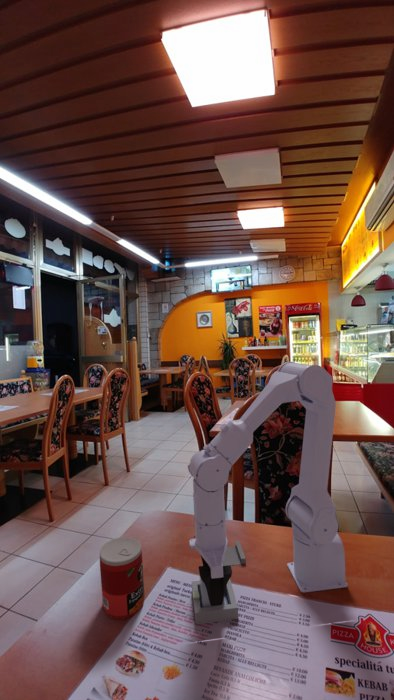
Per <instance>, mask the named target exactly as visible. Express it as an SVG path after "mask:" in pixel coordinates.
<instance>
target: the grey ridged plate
mask: <svg viewBox="0 0 394 700" xmlns="http://www.w3.org/2000/svg"><path fill="white" fill-rule="evenodd" d="M234 542H235V543H234V545H232V546H231V545H230V546H227V549H226V553H225V557H224V560H223V566H227V565H231V567H232V566H238V565H246V564H247V560H246V559H247V558H246V556H245V552H244V550H243V546H242V545H241V541H240V540H235V541H234Z"/></svg>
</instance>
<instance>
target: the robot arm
mask: <svg viewBox="0 0 394 700" xmlns="http://www.w3.org/2000/svg"><path fill="white" fill-rule="evenodd" d="M333 380H334V377H333V375H331V374H330V373H329V372H328V371H327V370H326V369H325V368H324V367H322V366H321V365H319V364H306V363H300V362H299V363H298V362H294V361H286V362H284V363H282V364H281V365H280V366H279V367H278V368H277V370H276V371H274V372H273V373H272V374H271V376H270V378H269V381H268V383H267V384H266V385H265V386H264V388H263V389H262V390H261V392H260V393H259V394H258V396H257V397H256V398H255V399H254V401H253V402H252V403H251V404H250V406H249V407H247V409H246V410H245V412H244V413H243V414H242V416H241V417H240V418H239V419H235V420H229V421H228V422H227V423H222V424H221V426H220V427H219V429H220V431H219V432H218V433H217V435H215V437H214V438H213V439H212V440H211V441H210V442H209V443H208V444H205V445H204V446H203V448H202V449H201V450H198V451H197V452H195V453H194V454H193V455H192V457H191V458H190V460H189V461H190V463H189V464H188V465H187V469H188V472H189V474H190V475H191V477H193V479H192V484H193V485H192V486H193V493H192V497H193V499H192V500H193V516H194V517H193V519H194V533H195V534H194V536H193V538H191V539H189V541H188V542H189V549H190V550H196V551H197V552H198V554H199V555H200V557H201V561H202V562H201V563H202V565H200V566H198V574H200V575H199V578H200V577H201V580H202V581H203V582H204V584H205V586H206V589H207V593H208V598H209V602H210V605H211V606H218V605H222V604H223V600H224V601H225V595H226V594H225V593H226V591H225V589H226V585H227V583H228V581H229V579H230V580H231V577H233V569H232V566H231V565H227V566H223V560H224V557H225V553H226V549H227V547H228V543H229V542H228V538H227V528H226V527H227V526H226V508H225V507H226V506H225V502H226V501H225V489H224V486H225V485H226V484H227V482H228V481H229V475H230V471H231V469H232V467H233V465H234V464H235V463H236V462H237V461H238V460H239V458H241V456H242V455H243V454H244V453H245V452H246V451H247V449H248V448H250V446H251V445H252V444H253V442H254V432H255V431H256V430H257V429H258V428H259V427H260V426H261V425H262V424H263V423H264V422H265V421H266V420H267V419H268V418H269V417H270V416H271V415H272V414H273V413H274V412H275V411H276V410H277V409H278V408H279V406H281V405H282V404H285V403H293V402H299V403H300V404H301V405H302V406H303V407H304V408H305V418H304V429H303V438H302V440H303V441H302V447H301V448H302V449H301V460H300V468H299V479H298V484H296V485H295V486H293V487H291V492H290V497H289V498H288V500H287V502H286V505H285V514H286V517H287V518H288V520H289V521H291V528H292V546H293V547H292V548H293V550H292V551H293V561H291V562H288V563H286V566H287V568H288V570H289V572H290V574H291V576H292V577H293V580H294V582H295V583H296V585H297V587H298V589H299V590H300V592H301V593H311V592H317V591H318V592H320V591H328V590H334V589H342V588H344V589H345V588H347V587H348V583H347V581H346V555H345V548H344V544H343V541H342V538H341V537H340V535H339V534H338V529H339V523H338V519H337V517H336V512H337V511H336V509H337V508H336V505H335V503H334V501H333V499H332V498H331V497H332V496H331V495H330V494H329V491H328V486H329V478H330V477H329V475H330V467H331V455H332V447H333V445H332V444H333V434H334V426H335V425H334V424H335V417H336V416H335V415H336V399H335V396H334V393H333V383H334V381H333Z"/></svg>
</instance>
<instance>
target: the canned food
mask: <svg viewBox="0 0 394 700" xmlns="http://www.w3.org/2000/svg"><path fill="white" fill-rule="evenodd" d="M143 563H144V562H143V550H142V544H141V542H140V540H138V539H136V538H134V537H131V536H130V537H129V536H122V537H117V538H113V539H111V540H108V541H107V542H105V543H104V544H103V545H102V547H101V548H100V550H99V568H100V569H99V570H100V583H101V584H100V587H101V596H102V597H101V598H102V599H101V600H102V606H103V610H104V612H105V613H106V616H108V617H110V618H111V619H114V620H124V619H129V618H131V617H133V616H134V615H136V614H137V613H138V612H139V611H140V610H141V608H142V607H143V605H144V602H145V581H144V566H143V565H144V564H143Z"/></svg>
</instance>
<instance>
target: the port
mask: <svg viewBox="0 0 394 700" xmlns="http://www.w3.org/2000/svg"><path fill="white" fill-rule="evenodd" d="M233 588H234V587H233V583H232V580H231V578H230V579H229V581H228V583H227V585H226V589H225V593H226V597H227V601H228V604H225V605H219V606H211V607H203V608H202V607H201V602H200V601H201V600H200V599H201V595H200V580H195V581H193V580H191V591H192V601H193V602H192V603H193V608H194V609H193V610H194V619H195V625H201V624H202V625H203V624H209V623H216V622H217V623H218V622H222V621H223V622H224V621H231V620H238V619H239V606H238V604H237V603H238V602H237V600H236V595H235V592H234V589H233Z"/></svg>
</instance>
